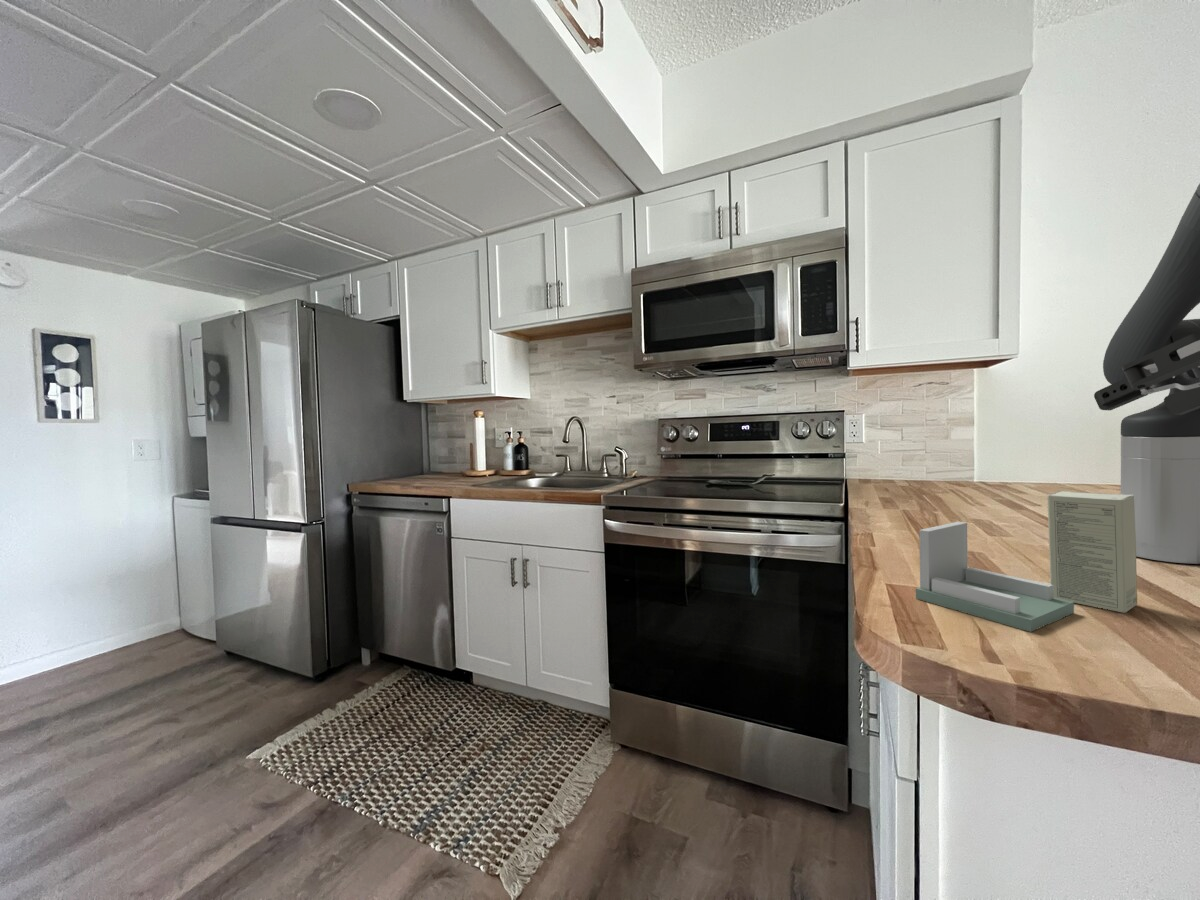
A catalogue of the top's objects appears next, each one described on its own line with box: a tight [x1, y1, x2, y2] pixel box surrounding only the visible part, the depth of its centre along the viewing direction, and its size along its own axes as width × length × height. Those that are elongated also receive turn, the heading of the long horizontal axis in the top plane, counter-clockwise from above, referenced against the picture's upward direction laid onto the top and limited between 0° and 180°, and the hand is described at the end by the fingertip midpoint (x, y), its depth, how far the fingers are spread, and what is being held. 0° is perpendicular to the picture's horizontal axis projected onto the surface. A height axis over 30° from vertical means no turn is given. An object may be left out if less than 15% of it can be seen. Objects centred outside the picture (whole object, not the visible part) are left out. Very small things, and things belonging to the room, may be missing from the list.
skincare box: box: [1046, 490, 1138, 614], centre depth 54 cm, size 6×4×12 cm
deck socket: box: [915, 521, 1075, 633], centre depth 54 cm, size 9×11×8 cm
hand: (1134, 404), depth 51 cm, fingers open, 8 cm apart
